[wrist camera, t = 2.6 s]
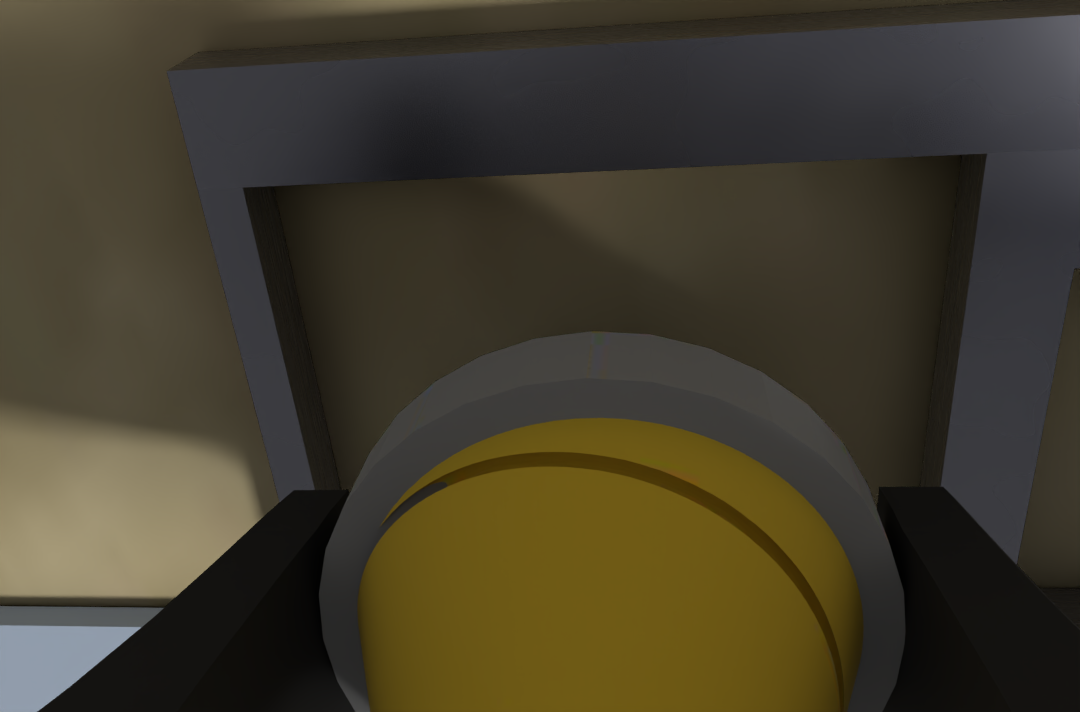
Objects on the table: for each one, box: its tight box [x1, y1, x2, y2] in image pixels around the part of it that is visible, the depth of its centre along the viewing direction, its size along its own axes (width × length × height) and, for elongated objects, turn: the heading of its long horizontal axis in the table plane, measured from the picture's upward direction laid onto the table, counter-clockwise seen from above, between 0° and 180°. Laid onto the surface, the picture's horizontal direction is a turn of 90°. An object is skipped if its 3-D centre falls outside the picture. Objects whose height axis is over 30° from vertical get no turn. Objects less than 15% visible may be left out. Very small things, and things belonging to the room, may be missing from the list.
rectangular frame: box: [167, 0, 1080, 628], centre depth 12 cm, size 14×10×1 cm
